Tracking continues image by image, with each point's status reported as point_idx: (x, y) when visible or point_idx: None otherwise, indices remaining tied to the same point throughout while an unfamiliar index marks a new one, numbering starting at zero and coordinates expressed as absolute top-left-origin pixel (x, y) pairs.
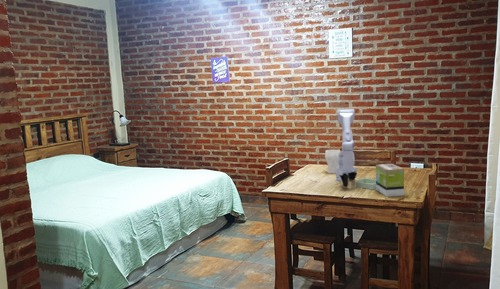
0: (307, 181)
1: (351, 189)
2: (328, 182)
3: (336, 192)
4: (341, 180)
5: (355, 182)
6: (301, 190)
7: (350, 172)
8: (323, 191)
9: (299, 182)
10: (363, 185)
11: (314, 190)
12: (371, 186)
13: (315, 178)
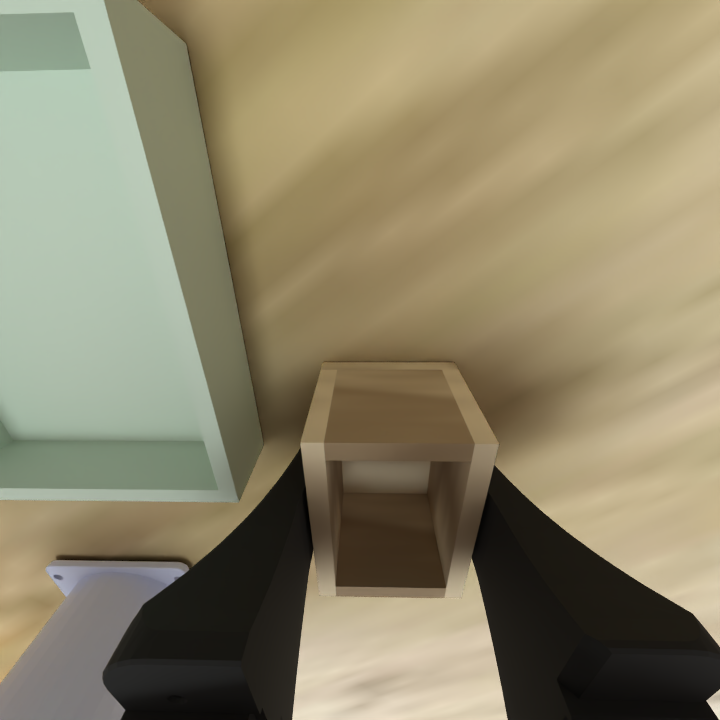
0: (406, 705)
1: (435, 362)
2: (325, 636)
3: (695, 407)
4: (462, 586)
5: (326, 417)
6: (715, 632)
7: None
8: (692, 520)
9: (465, 715)
10: (213, 299)
11: (677, 582)
12: (153, 61)
13: (296, 711)
